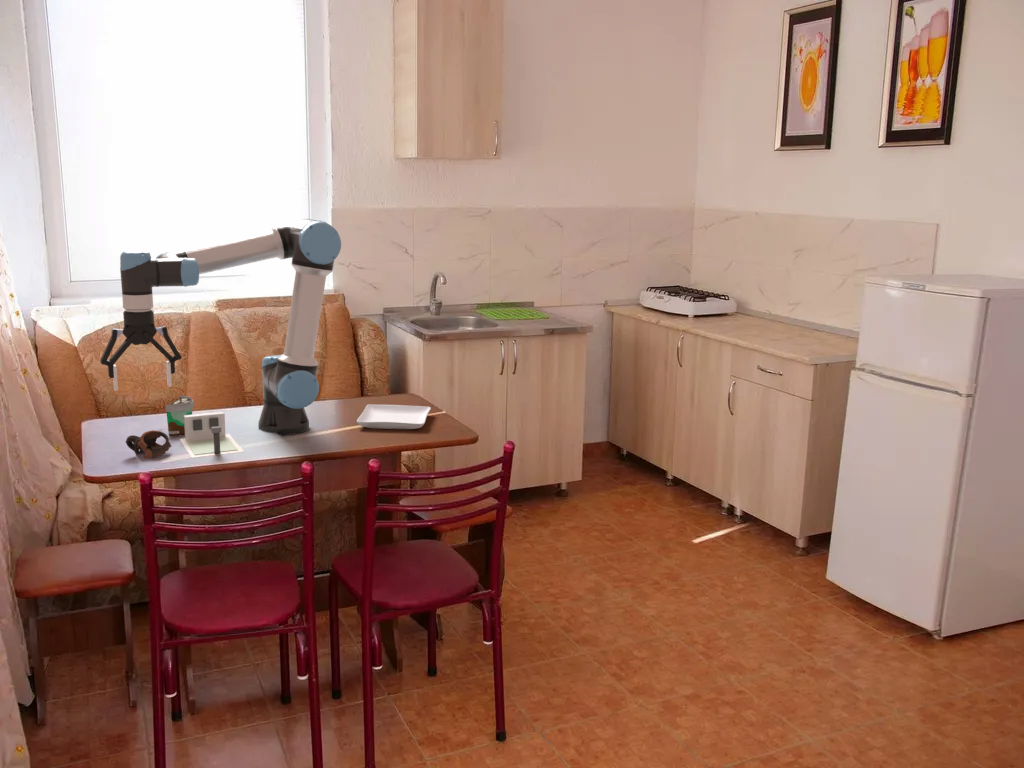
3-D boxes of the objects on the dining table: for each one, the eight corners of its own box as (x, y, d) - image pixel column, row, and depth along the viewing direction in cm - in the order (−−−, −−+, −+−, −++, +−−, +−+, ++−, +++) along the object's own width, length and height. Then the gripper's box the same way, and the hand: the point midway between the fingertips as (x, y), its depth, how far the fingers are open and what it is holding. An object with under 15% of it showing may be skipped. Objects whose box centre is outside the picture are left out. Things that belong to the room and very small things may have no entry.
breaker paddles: (218, 427, 272) (217, 417, 272) (218, 428, 272) (218, 418, 271) (193, 430, 269) (192, 419, 268) (193, 430, 268) (193, 420, 268)
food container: (188, 438, 275) (186, 405, 273) (167, 437, 275) (165, 405, 272) (201, 427, 287) (199, 395, 285) (181, 426, 287) (179, 395, 284)
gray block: (221, 452, 259) (220, 426, 257) (222, 453, 257) (221, 427, 256) (212, 453, 258) (211, 426, 256) (213, 454, 256) (212, 428, 254)
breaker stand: (228, 436, 277) (227, 410, 275) (244, 455, 260) (242, 427, 258) (179, 442, 271) (178, 415, 269) (191, 461, 254) (190, 432, 252)
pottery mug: (172, 451, 264) (175, 431, 259) (163, 475, 256) (166, 454, 251) (128, 442, 261) (130, 421, 256) (118, 465, 254) (120, 444, 249)
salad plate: (424, 433, 287) (424, 422, 286) (355, 431, 287) (355, 420, 287) (431, 415, 308) (431, 405, 307) (367, 413, 308) (367, 403, 307)
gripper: (184, 305, 257) (188, 381, 261) (85, 309, 245) (91, 388, 250) (189, 309, 250) (193, 386, 255) (88, 313, 239) (94, 394, 243)
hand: (143, 387), depth 252 cm, fingers open, 13 cm apart
